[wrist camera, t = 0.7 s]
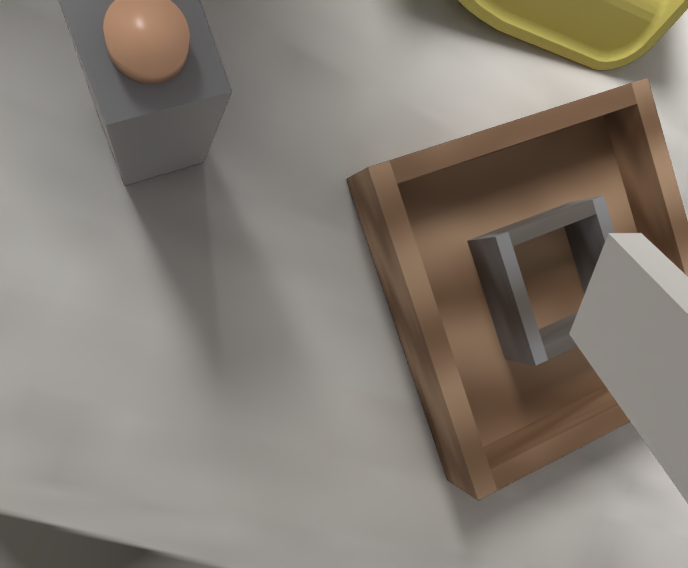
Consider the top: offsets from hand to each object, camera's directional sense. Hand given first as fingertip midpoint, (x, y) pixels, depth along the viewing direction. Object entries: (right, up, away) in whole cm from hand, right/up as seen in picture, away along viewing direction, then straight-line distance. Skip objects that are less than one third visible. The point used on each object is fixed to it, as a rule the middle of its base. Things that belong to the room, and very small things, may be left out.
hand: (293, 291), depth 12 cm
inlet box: (+12, 0, +24) cm, 27 cm away
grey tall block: (-9, +7, +18) cm, 21 cm away
